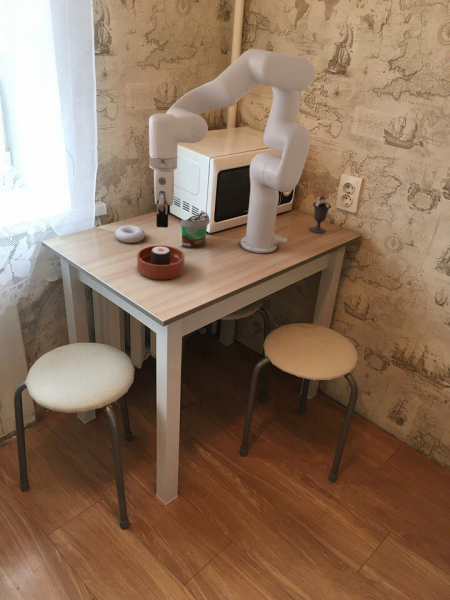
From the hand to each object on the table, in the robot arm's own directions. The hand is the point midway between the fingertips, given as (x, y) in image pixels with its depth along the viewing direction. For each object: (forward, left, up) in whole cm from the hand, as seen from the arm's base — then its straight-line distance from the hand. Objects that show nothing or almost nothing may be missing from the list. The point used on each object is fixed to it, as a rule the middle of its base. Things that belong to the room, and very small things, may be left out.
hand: (163, 220), depth 149 cm
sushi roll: (+1, +1, -15) cm, 15 cm away
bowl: (+1, +1, -16) cm, 16 cm away
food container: (-10, -19, -16) cm, 27 cm away
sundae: (-55, -38, -16) cm, 69 cm away
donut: (+13, -21, -16) cm, 29 cm away
